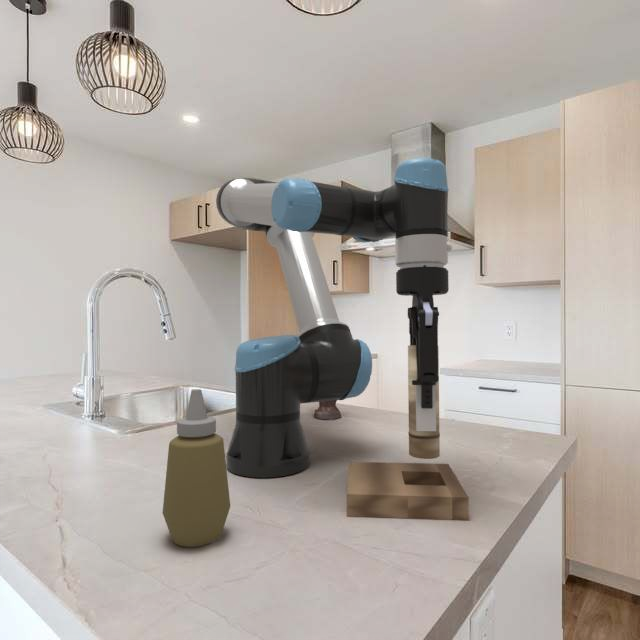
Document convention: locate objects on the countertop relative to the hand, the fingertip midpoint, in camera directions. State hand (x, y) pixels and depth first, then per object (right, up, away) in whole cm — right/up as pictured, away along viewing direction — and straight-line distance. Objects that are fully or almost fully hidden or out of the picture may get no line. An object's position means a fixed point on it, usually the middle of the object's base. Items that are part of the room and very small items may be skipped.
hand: (423, 426), depth 68 cm
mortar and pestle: (-14, -11, +58) cm, 61 cm away
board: (-3, -11, +1) cm, 11 cm away
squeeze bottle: (-30, -11, -11) cm, 34 cm away
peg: (0, -4, 0) cm, 4 cm away
